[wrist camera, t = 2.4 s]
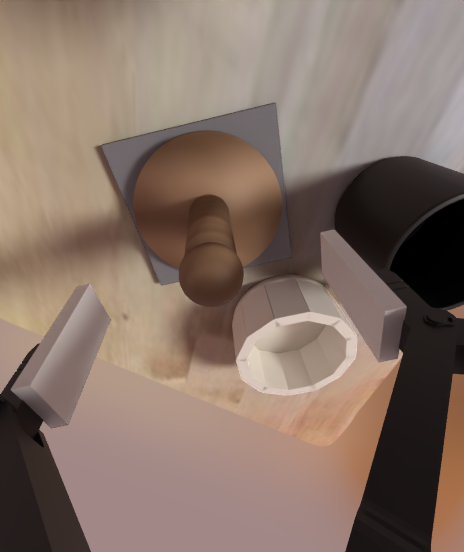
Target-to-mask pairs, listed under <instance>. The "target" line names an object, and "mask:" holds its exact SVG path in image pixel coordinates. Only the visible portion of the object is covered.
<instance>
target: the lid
mask: <svg viewBox="0 0 464 552" xmlns="http://www.w3.org/2000/svg"><path fill="white" fill-rule="evenodd" d="M133 205H134V214H135V219H136V223H137V226H138V229H139V231H140V233H141V235H142V237H143V239H144V240H145V241H146V243H147V244H148V246H149V247H150V248H151V249H152V250H153V252H154V253H156V254H157V255H158V256H159V257H160V258H161V259H163V260H164V261H165V262H167V263H168V264H170V265H172V266H174V267H176V268H178V269H179V282H180V286H181V288H182V290H183V292H184V293H185V294H186V296H187V297H188V298H189V299H190V300H192V301H193V302H195V303H197V304H199V305H202V306H207V307H215V306H220V305H223V304H225V303H227V302H229V301H230V300H232V299H233V298H234V297H235V296H236V295H237V293H238V292H239V290H240V288H241V286H242V283H243V276H244V273H243V267H244V266H245V265H247V264H249V263H250V262H252V261H253V260H255V259H256V258H257V257H258V256H259V255H261V254H262V253H263V251H264V250H265V249H266V248H267V247H268V245H269V244H270V243H271V241H272V240H273V238H274V236H275V234H276V232H277V229H278V226H279V223H280V219H281V213H282V196H281V190H280V186H279V183H278V180H277V178H276V176H275V174H274V171H273V170H272V168H271V167H270V165H269V164H268V162H267V161H266V160H265V158H264V157H263V156H262V155H261V154H260V153H259V152H258V151H257V150H256V149H255V148H254V147H253V146H251V145H250V144H249V143H247V142H245V141H244V140H242V139H240V138H238V137H236V136H233V135H231V134H227V133H224V132H219V131H211V130H207V131H194V132H189V133H186V134H182V135H179V136H177V137H175V138H173V139H171V140H169V141H168V142H166V143H165V144H163V145H162V146H161V147H160V148H159V149H157V150H156V151H155V152H154V153H153V154H152V156H151V157H150V158H149V160H148V161H147V162H146V164H145V165H144V167H143V169H142V170H141V172H140V174H139V177H138V179H137V182H136V186H135V190H134V199H133Z"/></svg>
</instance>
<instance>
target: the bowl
mask: <svg viewBox="0 0 464 552" xmlns="http://www.w3.org/2000/svg"><path fill="white" fill-rule="evenodd" d="M232 330H233V339H234V348H235V357H236V362H237V366H238V369H239V372H240V376H241V379H242V380H243V381H244V382H246V383H247V384H249V385H250V386H252V387H253V388H255V389H256V390H258V391H259V392H262V393H269V394H276V395H284V396H289V395H295V394H300V393H305V392H310V391H315V390H317V389H319V388H321V387H323V386H325V385H326V384H328V383H330V382H332V381H334V380H336V379H337V378H339V377H341V375H342V374H343V373H344V372H345V371H346V369H347V368H348V367H349V366H350V364H351V363H352V362H353V361H354V359H355V358H356V351H357V334H356V333H355V331H354V329H353V328H352V326H351V325H350V323H349V321H348V320H347V318H346V316H345V315H344V313H343V311H342V310H341V308H340V306H339V305H338V303H337V301H336V300H335V299H334V298H333V297H332V296H331V294H330V292H329V291H328V290H327V288H326V287H325V286H324V285H322V284H321V283H320V282H318V281H316V280H314V279H312V278H309V277H306V276H301V275H282V276H276V277H273V278H269V279H267V280H264V281H262V282H260V283H258V284H256V285H255V286H253V287H252V288H251V289H249V290H248V291H247V292H246V293H245V294H244V295H243V296H242V297H241V299H240V300H239V301H238V303H237V305H236V307H235V310H234V314H233V322H232Z"/></svg>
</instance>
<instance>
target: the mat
mask: <svg viewBox="0 0 464 552" xmlns="http://www.w3.org/2000/svg"><path fill="white" fill-rule="evenodd" d="M207 130H211V131H219V132H224V133H227V134H231V135H233V136H236V137H238V138H240V139H242V140H244V141H245V142H247V143H249V144H250V145H251V146H253V147H254V148H255V149H256V150H257V151H258V152H259V153H260V154H261V155H262V156H263V157H264V158H265V160H266V161H267V162H268V164H269V165H270V167H271V168H272V170H273V171H274V174H275V176H276V178H277V180H278V183H279V186H280V190H281V196H282V213H281V219H280V223H279V226H278V229H277V232H276V234H275V236H274V238H273V240H272V241H271V243H270V244H269V245H268V247H267V248H266V249H265V250H264V251H263V253H262V254H261V255H259V256H258V257H257V258H256V259H255V260H253V261H252V262H250V263H249V264H247V265H245V266H244V267H243V268H245V267H250V266H255V265H259V264H264V263H269V262H273V261H278V260H283V259H287V258H292V257H291V247H290V237H289V227H288V217H287V207H286V197H285V187H284V177H283V167H282V157H281V147H280V137H279V128H278V118H277V108H276V103H271V104H267V105H263V106H259V107H255V108H251V109H247V110H243V111H239V112H234V113H230V114H226V115H222V116H218V117H214V118H210V119H206V120H201V121H197V122H193V123H189V124H185V125H181V126H177V127H173V128H168V129H164V130H160V131H156V132H152V133H148V134H144V135H140V136H135V137H131V138H127V139H123V140H119V141H115V142H111V143H107V144H103V145H101V147H102V149H103V152H104V154H105V156H106V159H107V161H108V163H109V166H110V168H111V170H112V173H113V175H114V177H115V179H116V182H117V184H118V186H119V189H120V191H121V193H122V196H123V198H124V200H125V203H126V205H127V207H128V210H129V212H130V214H131V217H132V219H133V221H134V224H135V226H136V228H137V231H138V233H139V235H140V238H141V240H142V242H143V245H144V247H145V249H146V252H147V254H148V256H149V259H150V261H151V263H152V266H153V268H154V270H155V273H156V275H157V277H158V279H159V282H160V284H161V286H162V285H166V284H171V283H176V282H179V269H178V268H176V267H174V266H172V265H170V264H168V263H167V262H165V261H164V260H163V259H161V258H160V257H159V256H158V255H157V254H156V253H154V252H153V250H152V249H151V248H150V247H149V246H148V244H147V243H146V241H145V240H144V239H143V237H142V235H141V233H140V231H139V229H138V226H137V223H136V219H135V214H134V205H133V199H134V190H135V186H136V182H137V179H138V177H139V174H140V172H141V170H142V169H143V167H144V165H145V164H146V162H147V161H148V160H149V158H150V157H151V156H152V154H153V153H154V152H155V151H156V150H157V149H159V148H160V147H161V146H162V145H163V144H165V143H166V142H168V141H169V140H171V139H173V138H175V137H177V136H179V135H182V134H186V133H189V132H194V131H207Z"/></svg>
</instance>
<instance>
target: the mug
mask: <svg viewBox="0 0 464 552" xmlns="http://www.w3.org/2000/svg"><path fill="white" fill-rule="evenodd" d="M335 229H336V232H337V233H338V234H339V235H340V236H341V237H342V238H343V239H344V240H345V241H346V242H347V243H348V245H349V246H350V247H351V248H352V249H353V250H354V251H355V252H356V253H357V254H358V255H359V256H360V257H361V258H362V259H363V261H364V262H365V263H366V264H367V265H368V266H369V267H370V268H371V269H372V270H373V271H375V270H380V269H384V268H385V269H387V270H389V271H392V272H394V273H396V274H397V275H398V276H399V277H400V278H401V279H402V280H403V282H405V283H406V284H407V285H408V286H409V288H411V289H412V290H414V291H415V292H416V293H417V294H418V295H419V296H420V297H421V298H422V299H423V300H424V301H425V302H426V303H427V304H428V305H429V306H430V307H432V308H439V309H443V310H446V311H447V310H450V309H454V308H456V307H459V306H461V305H464V174H462V173H459V172H457V171H454V170H451V169H448V168H445V167H442V166H439V165H437V164H434V163H431V162H428V161H425V160H422V159H419V158H416V157H409V156H400V157H394V158H390V159H387V160H384V161H381V162H379V163H377V164H375V165H373V166H371V167H369V168H368V169H366V170H365V171H363V172H362V173H361V174H360V175H359V176H358V177H357V178H355V180H354V181H353V182H352V183H351V184H350V185H349V186H348V188H347V189H346V191H345V192H344V194H343V196H342V197H341V199H340V202H339V204H338V207H337V211H336V216H335Z"/></svg>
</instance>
